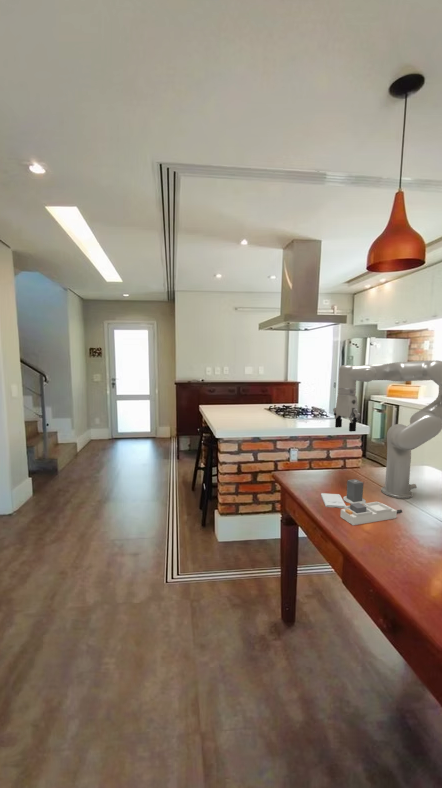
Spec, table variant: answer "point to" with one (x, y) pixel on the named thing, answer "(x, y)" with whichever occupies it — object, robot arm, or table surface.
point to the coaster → (353, 502)
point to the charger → (354, 490)
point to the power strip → (367, 513)
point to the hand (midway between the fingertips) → (345, 429)
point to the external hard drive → (333, 500)
